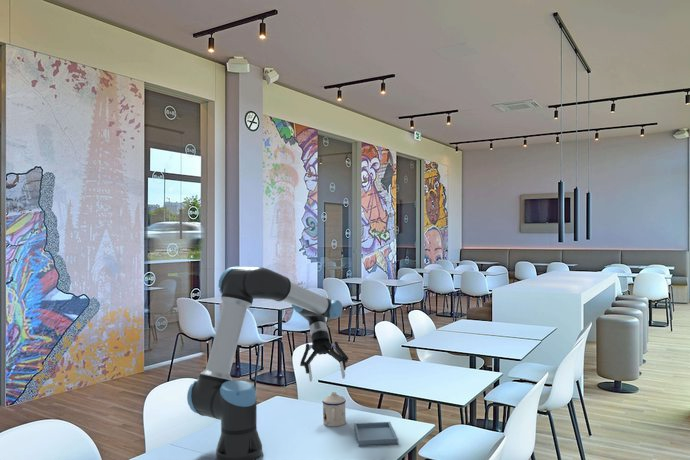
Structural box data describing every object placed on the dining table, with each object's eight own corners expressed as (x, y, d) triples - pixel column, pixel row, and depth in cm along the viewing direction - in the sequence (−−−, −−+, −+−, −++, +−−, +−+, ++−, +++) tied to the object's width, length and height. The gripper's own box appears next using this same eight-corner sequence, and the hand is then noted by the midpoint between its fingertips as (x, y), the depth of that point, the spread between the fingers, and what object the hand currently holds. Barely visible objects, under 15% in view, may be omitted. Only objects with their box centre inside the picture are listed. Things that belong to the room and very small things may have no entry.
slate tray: (358, 446, 177) (358, 440, 177) (354, 428, 194) (354, 423, 194) (397, 444, 178) (397, 438, 178) (390, 426, 195) (390, 421, 195)
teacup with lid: (323, 418, 205) (323, 389, 205) (346, 418, 205) (346, 389, 205) (321, 430, 193) (320, 398, 193) (345, 429, 193) (344, 398, 193)
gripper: (346, 337, 230) (355, 380, 215) (290, 341, 224) (296, 385, 209) (348, 327, 225) (358, 370, 210) (291, 331, 219) (298, 376, 204)
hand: (327, 378), depth 209 cm, fingers open, 13 cm apart
